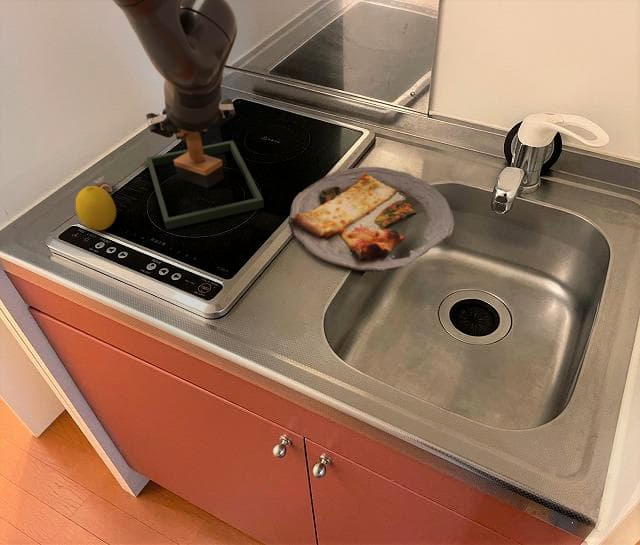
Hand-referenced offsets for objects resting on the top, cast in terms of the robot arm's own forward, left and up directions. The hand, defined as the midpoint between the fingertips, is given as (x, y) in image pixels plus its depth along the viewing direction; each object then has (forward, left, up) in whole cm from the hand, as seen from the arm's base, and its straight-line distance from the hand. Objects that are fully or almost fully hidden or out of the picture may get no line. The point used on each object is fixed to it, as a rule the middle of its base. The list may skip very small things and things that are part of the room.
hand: (190, 133), depth 95 cm
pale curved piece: (-16, -1, -8) cm, 18 cm away
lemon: (-17, -10, -8) cm, 21 cm away
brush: (0, -3, -7) cm, 8 cm away
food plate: (+22, -24, -8) cm, 34 cm away
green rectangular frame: (0, -5, -8) cm, 9 cm away
